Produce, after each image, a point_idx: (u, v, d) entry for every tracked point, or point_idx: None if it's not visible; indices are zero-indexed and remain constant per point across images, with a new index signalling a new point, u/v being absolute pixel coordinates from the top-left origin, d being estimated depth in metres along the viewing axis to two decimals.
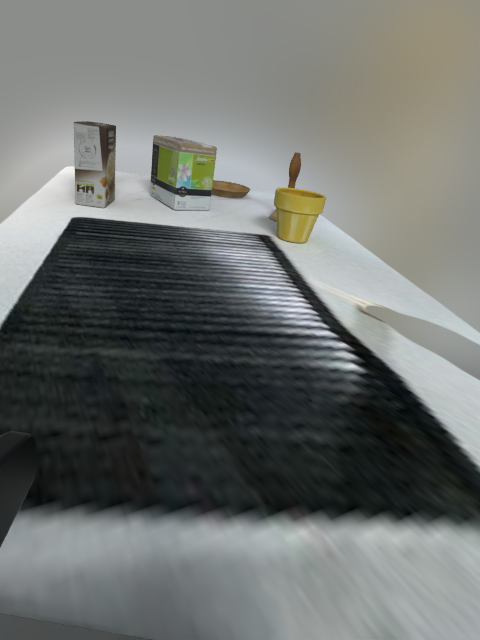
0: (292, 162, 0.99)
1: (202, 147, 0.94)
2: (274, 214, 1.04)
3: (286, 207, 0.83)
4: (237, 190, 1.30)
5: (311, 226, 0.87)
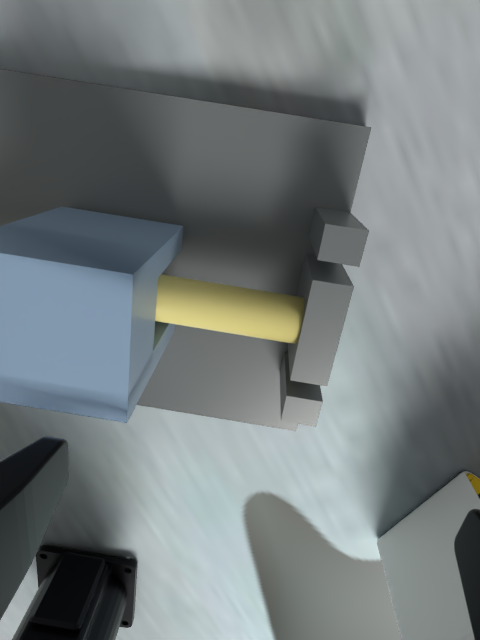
0: None
1: None
2: None
3: None
4: None
5: None
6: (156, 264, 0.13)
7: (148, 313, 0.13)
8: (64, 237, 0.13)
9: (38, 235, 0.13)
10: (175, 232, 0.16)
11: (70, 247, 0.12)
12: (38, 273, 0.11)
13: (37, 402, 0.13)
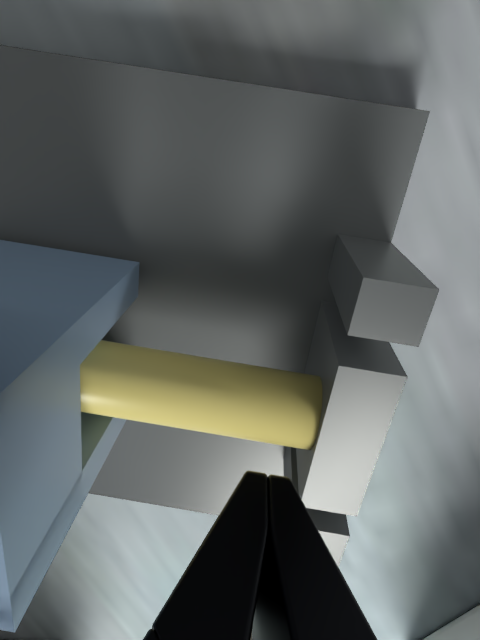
0: None
1: None
2: None
3: None
4: None
5: None
6: (71, 348, 0.08)
7: (57, 432, 0.08)
8: None
9: None
10: (121, 277, 0.10)
11: None
12: None
13: None
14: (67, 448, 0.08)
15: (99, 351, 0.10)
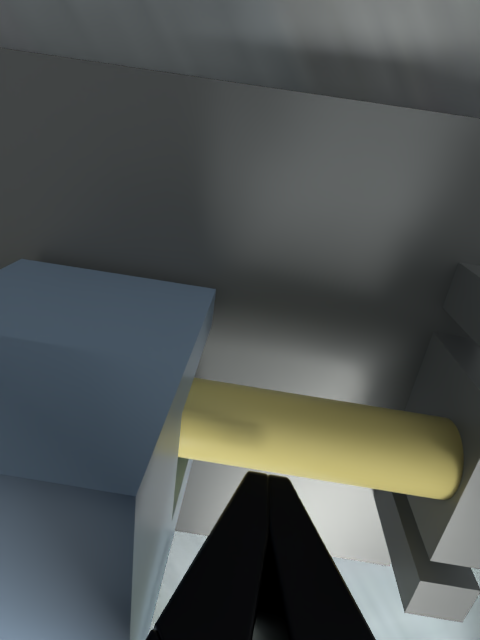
0: None
1: None
2: None
3: None
4: None
5: None
6: (180, 398, 0.07)
7: (165, 491, 0.07)
8: (1, 351, 0.07)
9: None
10: (206, 308, 0.09)
11: (4, 388, 0.06)
12: None
13: None
14: (168, 504, 0.08)
15: (216, 395, 0.09)
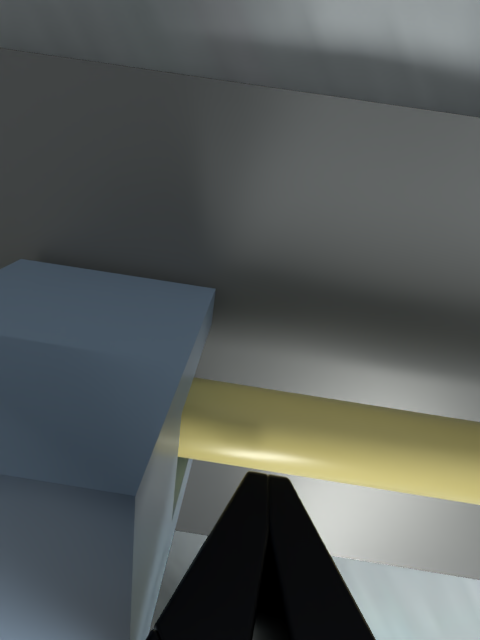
0: None
1: None
2: None
3: None
4: None
5: None
6: (179, 397, 0.07)
7: (165, 491, 0.07)
8: (1, 352, 0.07)
9: None
10: (205, 308, 0.09)
11: (3, 387, 0.06)
12: None
13: None
14: (167, 504, 0.08)
15: None
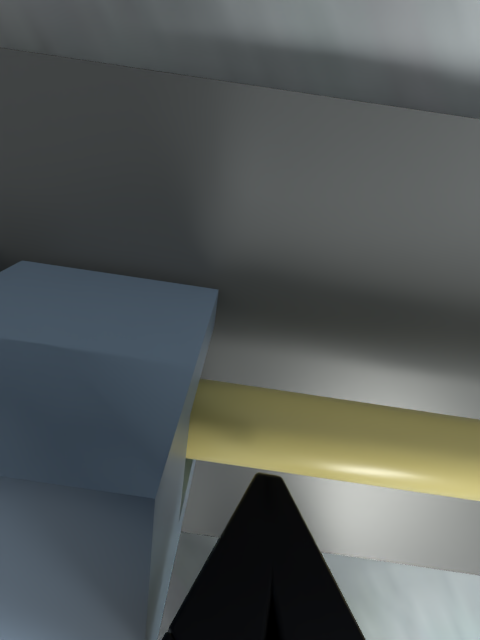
0: None
1: None
2: None
3: None
4: None
5: None
6: (189, 399, 0.07)
7: (175, 492, 0.07)
8: (9, 355, 0.07)
9: None
10: (210, 309, 0.09)
11: (15, 391, 0.06)
12: None
13: None
14: (176, 506, 0.08)
15: None
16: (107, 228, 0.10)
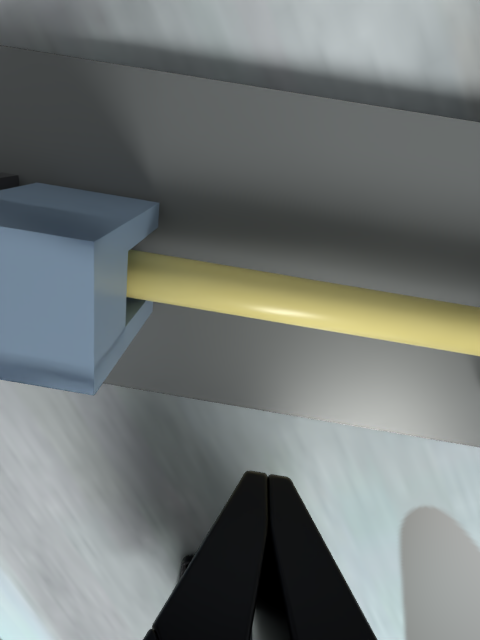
0: None
1: None
2: None
3: None
4: None
5: None
6: (125, 236, 0.13)
7: (116, 286, 0.13)
8: (31, 208, 0.13)
9: (4, 206, 0.13)
10: (149, 207, 0.16)
11: (35, 216, 0.12)
12: None
13: (3, 374, 0.13)
14: (120, 302, 0.14)
15: (421, 301, 0.15)
16: (90, 163, 0.17)
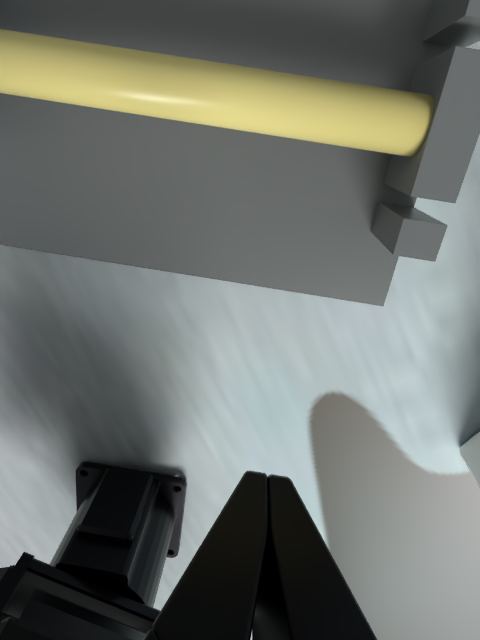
0: None
1: None
2: None
3: None
4: None
5: None
6: None
7: None
8: None
9: None
10: None
11: None
12: None
13: None
14: None
15: (259, 68, 0.13)
16: None
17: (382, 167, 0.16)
